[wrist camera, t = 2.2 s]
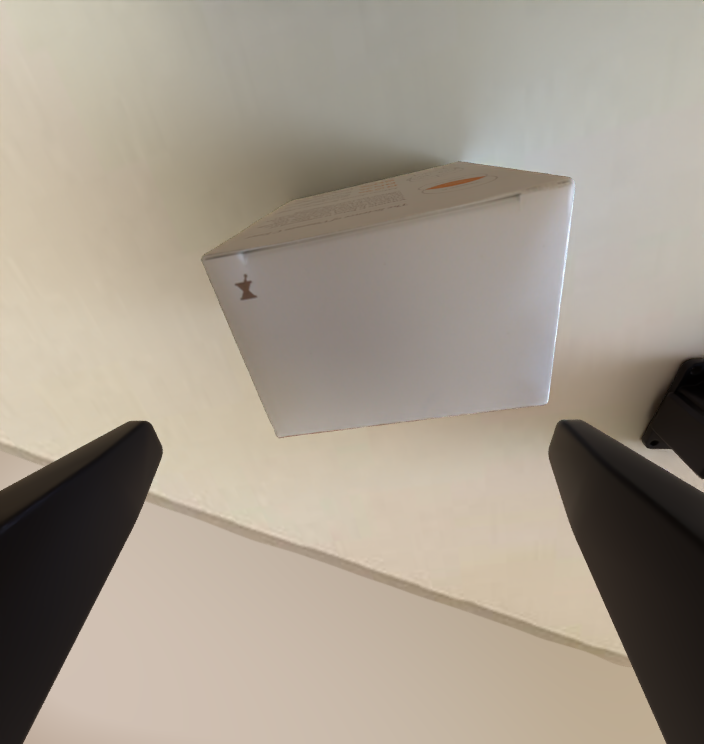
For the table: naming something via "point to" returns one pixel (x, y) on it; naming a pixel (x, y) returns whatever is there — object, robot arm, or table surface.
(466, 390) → the small box
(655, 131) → the table surface
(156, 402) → the table surface
